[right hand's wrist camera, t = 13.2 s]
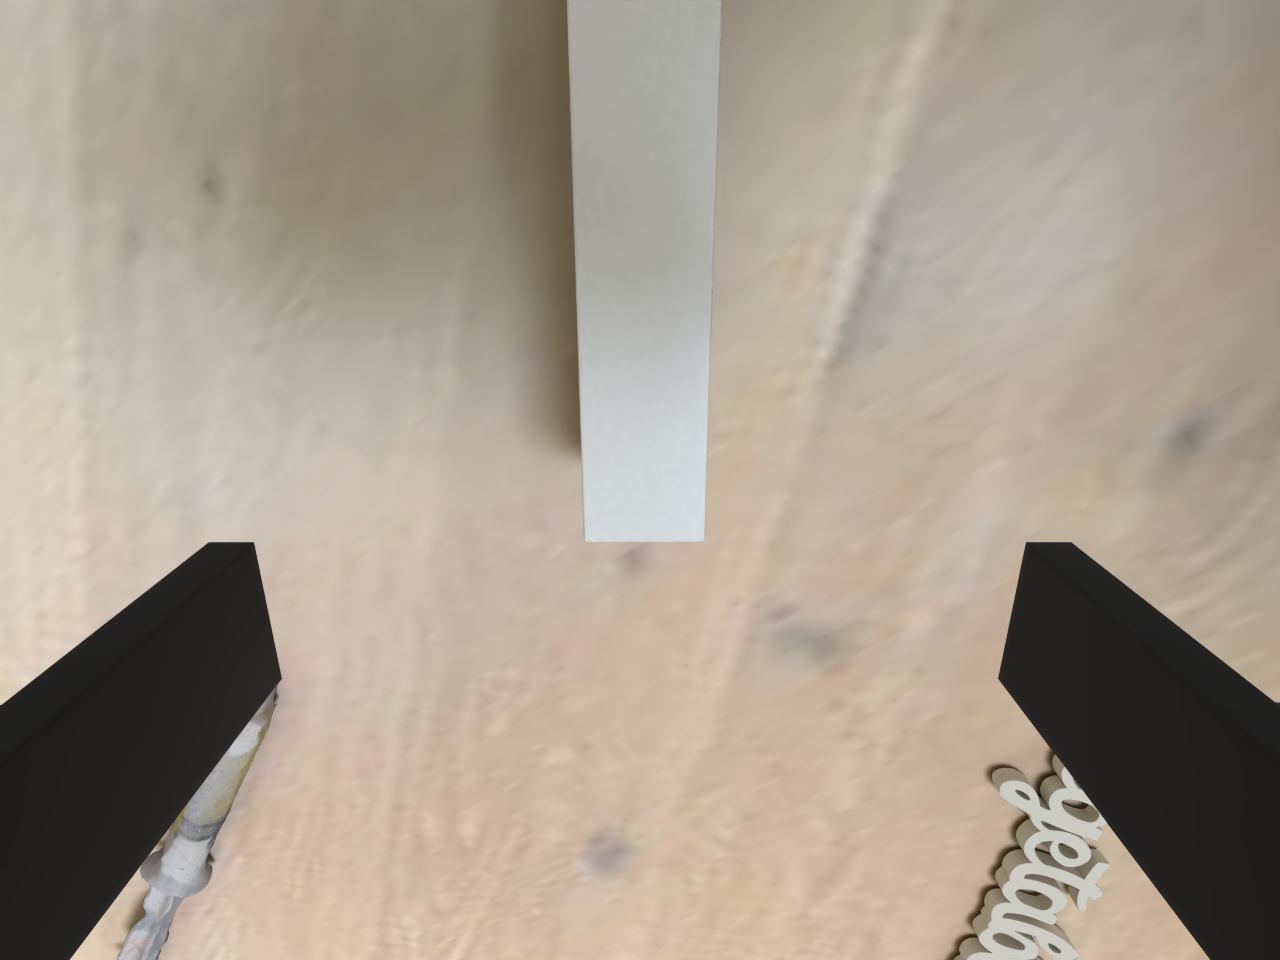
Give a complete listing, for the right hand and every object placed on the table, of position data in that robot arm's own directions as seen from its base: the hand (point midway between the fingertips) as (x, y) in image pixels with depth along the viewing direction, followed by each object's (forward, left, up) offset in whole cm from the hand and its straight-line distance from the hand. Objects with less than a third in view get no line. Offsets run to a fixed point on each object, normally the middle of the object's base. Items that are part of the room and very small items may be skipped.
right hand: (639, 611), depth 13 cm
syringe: (-22, +31, -22) cm, 44 cm away
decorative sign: (-34, -17, -22) cm, 44 cm away
